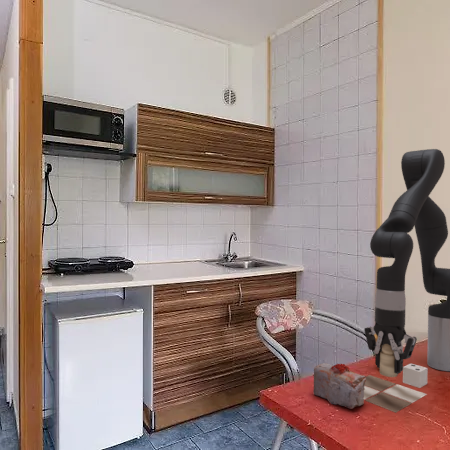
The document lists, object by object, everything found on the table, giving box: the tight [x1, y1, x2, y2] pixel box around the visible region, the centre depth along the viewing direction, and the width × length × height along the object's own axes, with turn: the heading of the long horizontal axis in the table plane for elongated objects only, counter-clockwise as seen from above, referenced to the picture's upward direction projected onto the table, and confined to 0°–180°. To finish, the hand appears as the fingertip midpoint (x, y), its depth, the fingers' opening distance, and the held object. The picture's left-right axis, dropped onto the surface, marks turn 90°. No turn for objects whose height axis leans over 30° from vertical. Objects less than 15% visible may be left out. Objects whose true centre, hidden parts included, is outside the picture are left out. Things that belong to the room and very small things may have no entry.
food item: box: [312, 362, 367, 410], centre depth 106 cm, size 14×8×10 cm, turn 43°
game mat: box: [364, 374, 428, 414], centre depth 112 cm, size 18×18×1 cm
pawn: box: [379, 344, 399, 378], centre depth 105 cm, size 4×4×8 cm
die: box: [402, 363, 429, 389], centre depth 119 cm, size 5×5×5 cm
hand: (388, 369), depth 106 cm, fingers closed on pawn, 4 cm apart
